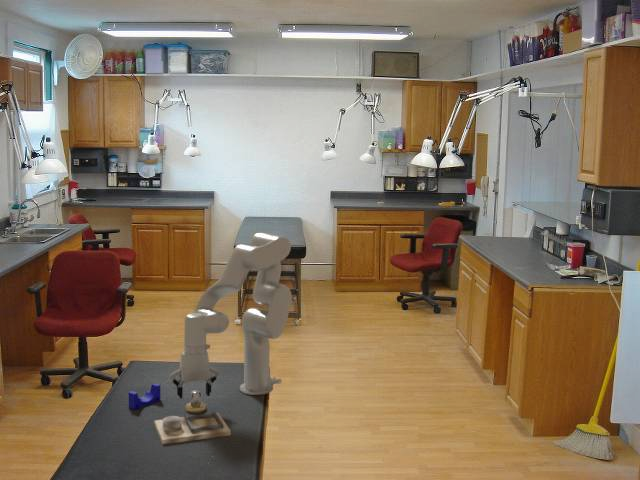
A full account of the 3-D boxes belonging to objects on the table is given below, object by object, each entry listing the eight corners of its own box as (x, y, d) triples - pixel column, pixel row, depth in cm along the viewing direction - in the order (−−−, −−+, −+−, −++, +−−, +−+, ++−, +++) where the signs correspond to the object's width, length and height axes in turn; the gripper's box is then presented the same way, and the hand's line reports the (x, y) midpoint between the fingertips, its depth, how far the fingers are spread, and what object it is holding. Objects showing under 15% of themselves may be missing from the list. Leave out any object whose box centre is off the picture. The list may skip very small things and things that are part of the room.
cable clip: (152, 397, 278) (151, 382, 277) (160, 400, 275) (160, 384, 274) (126, 407, 268) (125, 391, 267) (134, 410, 266) (134, 394, 265)
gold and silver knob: (203, 404, 272) (203, 387, 271) (207, 412, 265) (207, 394, 264) (183, 406, 269) (183, 389, 268) (187, 414, 263) (187, 396, 262)
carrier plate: (218, 416, 261) (218, 404, 261) (230, 435, 247) (230, 422, 246) (154, 424, 253) (154, 412, 253) (162, 444, 239) (162, 430, 238)
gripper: (216, 344, 270) (215, 390, 273) (168, 347, 264) (167, 394, 266) (222, 350, 263) (220, 397, 266) (172, 353, 257) (171, 402, 259)
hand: (194, 396), depth 266 cm, fingers open, 9 cm apart
